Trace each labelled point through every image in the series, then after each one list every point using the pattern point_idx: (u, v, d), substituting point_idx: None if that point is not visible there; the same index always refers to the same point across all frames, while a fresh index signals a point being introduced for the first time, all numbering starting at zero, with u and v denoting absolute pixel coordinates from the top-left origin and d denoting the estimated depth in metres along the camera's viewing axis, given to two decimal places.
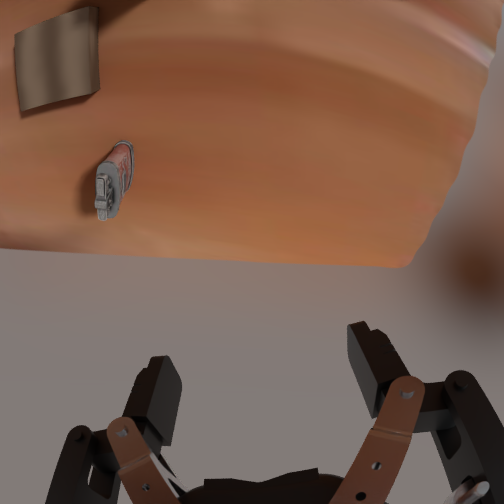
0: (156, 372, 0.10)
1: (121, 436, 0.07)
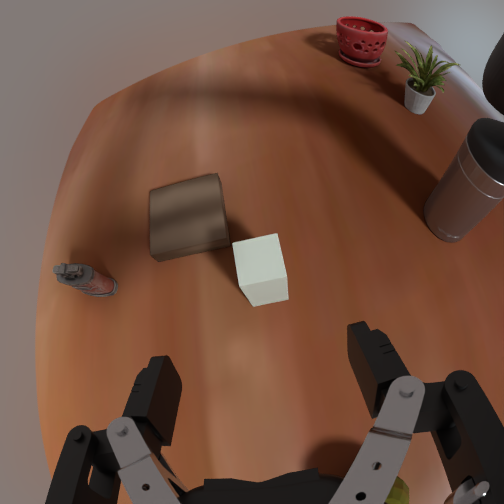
0: (156, 372, 0.10)
1: (121, 436, 0.07)
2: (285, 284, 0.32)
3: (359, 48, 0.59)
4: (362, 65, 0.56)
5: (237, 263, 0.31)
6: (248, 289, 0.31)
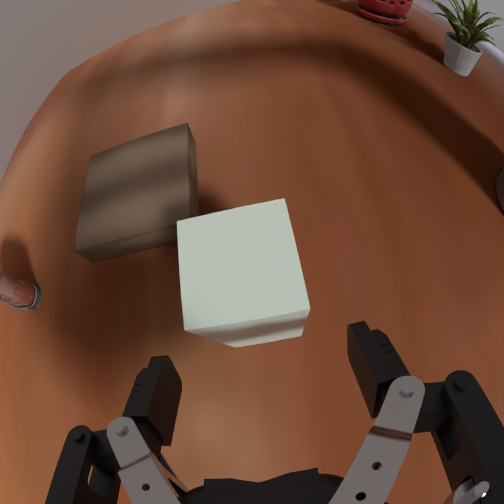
0: (156, 372, 0.10)
1: (121, 436, 0.07)
2: (301, 321, 0.13)
3: None
4: (387, 20, 0.37)
5: (183, 270, 0.12)
6: (213, 333, 0.13)
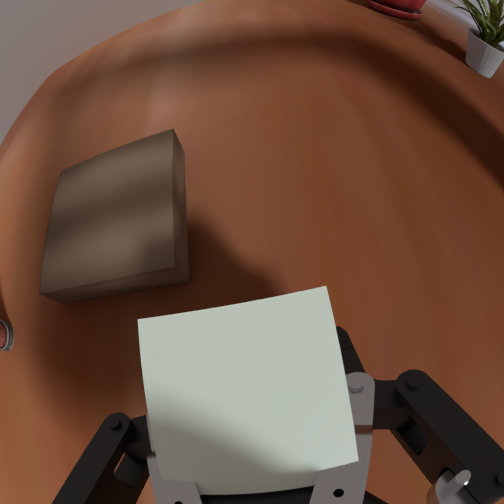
0: None
1: None
2: None
3: None
4: (401, 14, 0.32)
5: (154, 409, 0.06)
6: None
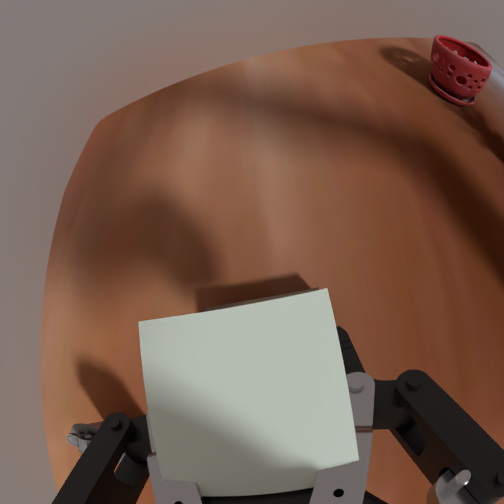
0: None
1: None
2: None
3: None
4: (460, 103, 0.38)
5: (155, 412, 0.06)
6: None
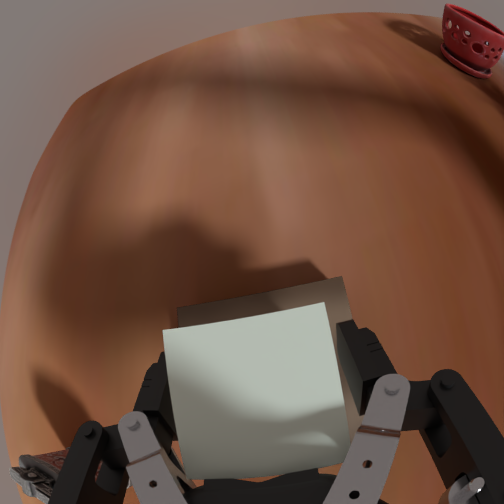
0: None
1: (133, 430, 0.07)
2: None
3: None
4: (477, 74, 0.30)
5: (178, 407, 0.07)
6: None
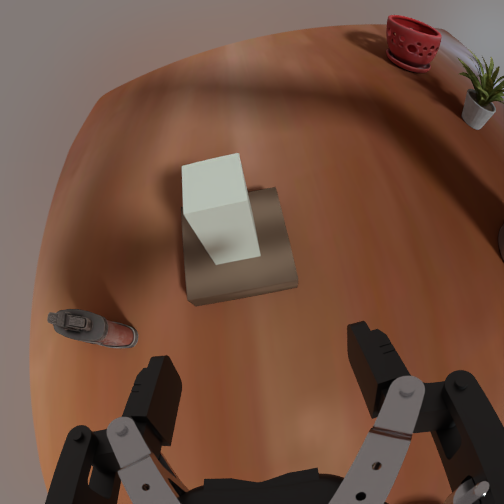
0: (156, 372, 0.10)
1: (121, 436, 0.07)
2: (249, 220, 0.24)
3: None
4: (414, 69, 0.46)
5: (184, 187, 0.22)
6: (198, 223, 0.23)
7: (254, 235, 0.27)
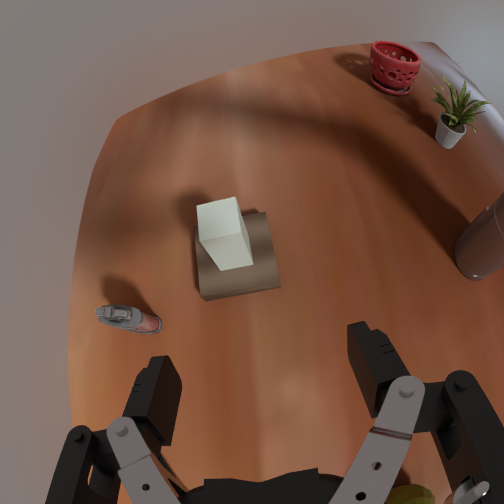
0: (156, 372, 0.10)
1: (121, 436, 0.07)
2: (243, 243, 0.36)
3: (389, 73, 0.60)
4: (394, 93, 0.57)
5: (199, 222, 0.34)
6: (209, 246, 0.35)
7: (247, 251, 0.38)
